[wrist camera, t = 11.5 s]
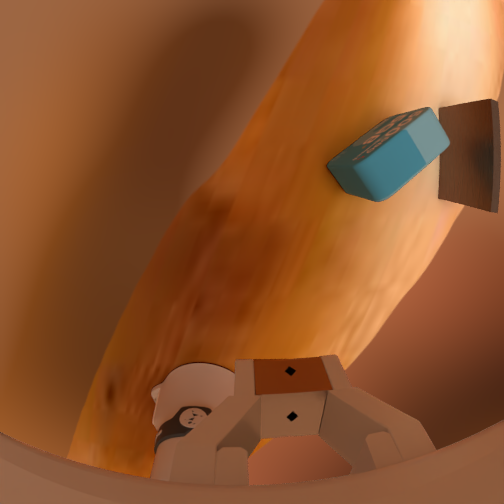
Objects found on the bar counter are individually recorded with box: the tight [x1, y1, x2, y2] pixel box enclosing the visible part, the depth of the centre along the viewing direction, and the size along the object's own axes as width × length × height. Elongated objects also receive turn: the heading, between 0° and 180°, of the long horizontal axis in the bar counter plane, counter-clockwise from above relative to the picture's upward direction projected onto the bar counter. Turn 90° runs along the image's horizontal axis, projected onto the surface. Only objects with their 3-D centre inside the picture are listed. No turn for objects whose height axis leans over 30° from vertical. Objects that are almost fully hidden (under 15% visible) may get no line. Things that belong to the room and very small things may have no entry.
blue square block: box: [327, 107, 450, 202], centre depth 31 cm, size 12×4×12 cm, turn 129°
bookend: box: [438, 99, 501, 213], centre depth 31 cm, size 14×4×12 cm, turn 0°
